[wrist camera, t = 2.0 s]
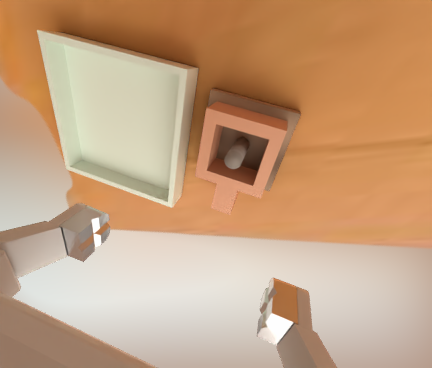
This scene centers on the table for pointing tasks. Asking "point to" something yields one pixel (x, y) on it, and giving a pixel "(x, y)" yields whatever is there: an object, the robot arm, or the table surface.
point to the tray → (121, 114)
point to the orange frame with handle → (241, 177)
